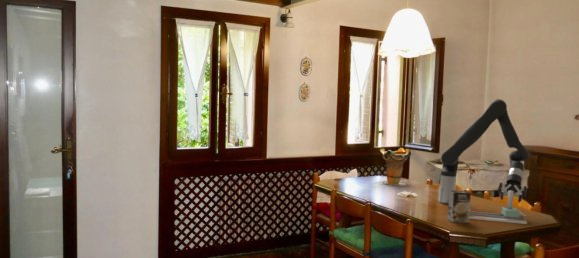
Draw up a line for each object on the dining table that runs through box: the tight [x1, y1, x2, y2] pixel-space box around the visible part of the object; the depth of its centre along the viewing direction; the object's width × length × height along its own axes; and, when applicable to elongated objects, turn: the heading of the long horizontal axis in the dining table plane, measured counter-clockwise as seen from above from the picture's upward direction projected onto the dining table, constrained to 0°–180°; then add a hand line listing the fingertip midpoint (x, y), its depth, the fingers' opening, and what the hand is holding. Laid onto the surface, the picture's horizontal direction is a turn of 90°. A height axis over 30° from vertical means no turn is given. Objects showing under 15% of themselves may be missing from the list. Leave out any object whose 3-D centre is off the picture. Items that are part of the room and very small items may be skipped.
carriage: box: [500, 191, 519, 218], centre depth 246 cm, size 7×7×14 cm
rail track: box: [468, 208, 528, 225], centre depth 248 cm, size 30×12×4 cm, turn 80°
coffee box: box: [446, 189, 472, 224], centre depth 239 cm, size 9×6×16 cm
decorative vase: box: [379, 147, 411, 187], centre depth 339 cm, size 21×23×28 cm
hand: (510, 200), depth 247 cm, fingers open, 8 cm apart
